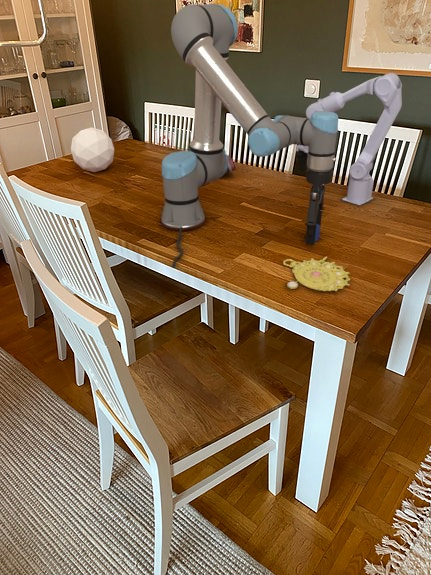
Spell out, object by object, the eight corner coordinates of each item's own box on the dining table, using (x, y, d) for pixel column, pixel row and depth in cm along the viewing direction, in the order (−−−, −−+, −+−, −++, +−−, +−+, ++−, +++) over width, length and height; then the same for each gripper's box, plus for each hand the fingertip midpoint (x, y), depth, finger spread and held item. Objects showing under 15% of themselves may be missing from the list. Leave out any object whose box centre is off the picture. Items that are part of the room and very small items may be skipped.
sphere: (101, 187, 208) (88, 161, 190) (70, 166, 213) (54, 139, 194) (127, 159, 213) (117, 131, 194) (96, 140, 218) (83, 111, 199)
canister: (306, 236, 144) (307, 223, 142) (318, 236, 144) (319, 223, 141) (307, 241, 141) (308, 228, 138) (319, 241, 141) (320, 228, 138)
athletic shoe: (215, 150, 209) (192, 156, 205) (235, 143, 189) (210, 149, 185) (221, 174, 212) (199, 180, 208) (241, 169, 192) (217, 176, 188)
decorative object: (332, 298, 110) (265, 270, 120) (331, 306, 111) (265, 278, 122) (367, 265, 123) (304, 242, 133) (365, 272, 125) (303, 249, 135)
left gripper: (327, 182, 120) (319, 254, 132) (337, 158, 138) (329, 223, 150) (299, 179, 122) (294, 250, 134) (313, 156, 140) (307, 220, 152)
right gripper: (291, 135, 168) (289, 171, 175) (323, 142, 159) (319, 179, 166) (303, 132, 172) (300, 166, 179) (335, 138, 163) (330, 174, 170)
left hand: (313, 236), depth 142 cm, fingers open, 10 cm apart
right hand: (310, 172), depth 173 cm, fingers open, 7 cm apart
